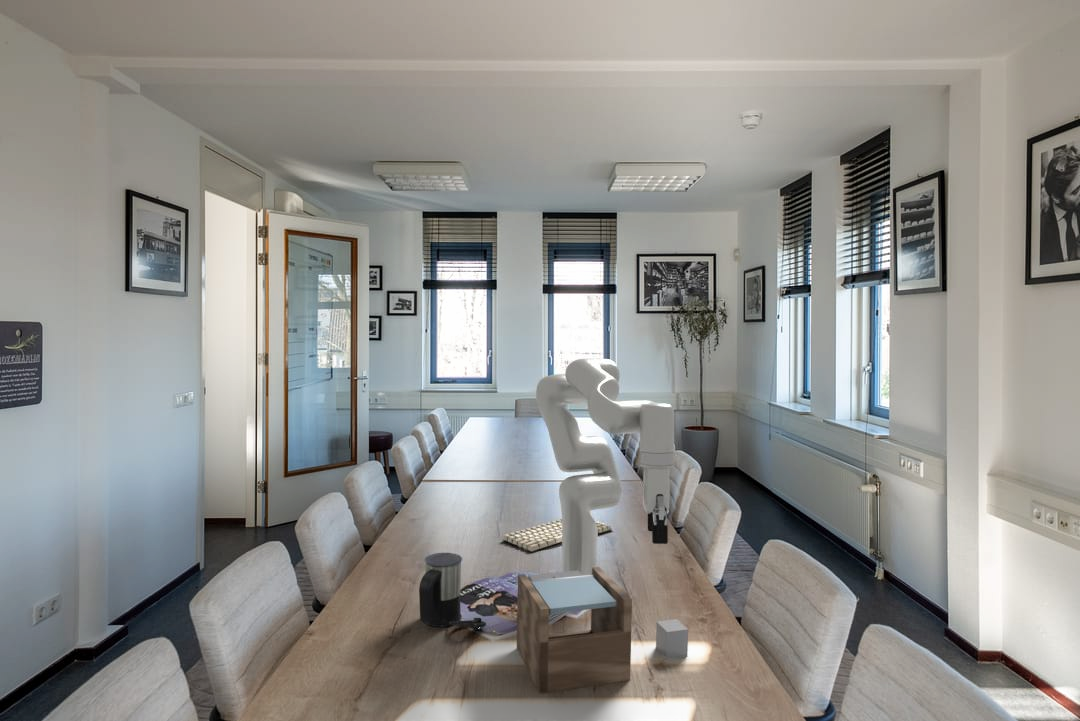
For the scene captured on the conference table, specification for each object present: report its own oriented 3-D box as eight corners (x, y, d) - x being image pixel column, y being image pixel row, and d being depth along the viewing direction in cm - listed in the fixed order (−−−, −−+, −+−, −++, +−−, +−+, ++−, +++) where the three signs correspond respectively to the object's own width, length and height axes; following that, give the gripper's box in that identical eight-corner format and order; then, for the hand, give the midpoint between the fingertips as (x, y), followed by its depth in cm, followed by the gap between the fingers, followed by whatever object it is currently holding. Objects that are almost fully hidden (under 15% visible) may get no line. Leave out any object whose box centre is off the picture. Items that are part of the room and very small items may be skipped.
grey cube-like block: (655, 648, 140) (656, 621, 139) (676, 645, 141) (676, 619, 141) (666, 659, 135) (667, 632, 135) (687, 656, 136) (688, 629, 136)
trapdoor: (521, 597, 142) (522, 570, 142) (583, 590, 147) (583, 565, 146) (547, 639, 123) (548, 608, 123) (617, 630, 127) (618, 600, 127)
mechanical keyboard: (537, 558, 196) (537, 547, 195) (498, 543, 209) (498, 533, 209) (615, 533, 222) (615, 523, 222) (575, 521, 236) (575, 512, 235)
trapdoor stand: (516, 648, 138) (517, 574, 138) (597, 637, 144) (598, 566, 143) (539, 693, 121) (541, 609, 120) (630, 679, 126) (632, 599, 126)
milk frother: (427, 609, 157) (428, 551, 156) (490, 611, 156) (491, 553, 156) (414, 637, 143) (415, 573, 142) (483, 639, 142) (484, 575, 141)
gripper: (636, 453, 147) (636, 526, 147) (643, 465, 130) (643, 548, 130) (668, 453, 147) (669, 526, 147) (680, 466, 130) (680, 549, 130)
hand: (657, 536), depth 138 cm, fingers open, 9 cm apart
